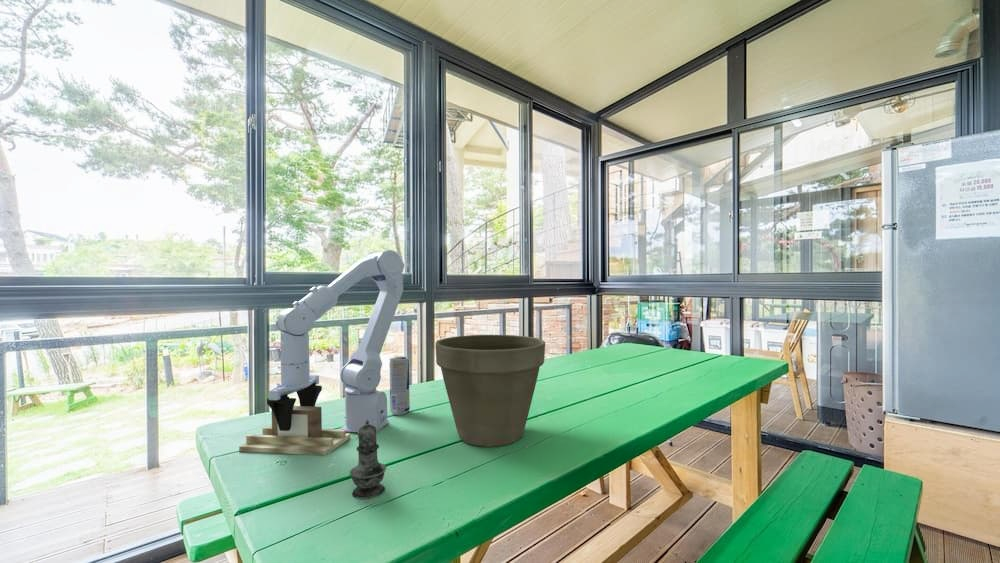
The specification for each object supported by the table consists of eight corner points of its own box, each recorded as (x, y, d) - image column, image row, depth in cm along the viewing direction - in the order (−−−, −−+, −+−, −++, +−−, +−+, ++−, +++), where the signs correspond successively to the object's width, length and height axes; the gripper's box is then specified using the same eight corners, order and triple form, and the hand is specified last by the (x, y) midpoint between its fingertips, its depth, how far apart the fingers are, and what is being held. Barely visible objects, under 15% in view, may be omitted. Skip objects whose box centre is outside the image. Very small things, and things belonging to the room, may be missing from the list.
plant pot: (569, 433, 97) (567, 338, 97) (494, 469, 79) (492, 352, 79) (490, 412, 114) (489, 331, 114) (414, 437, 96) (412, 342, 96)
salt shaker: (355, 484, 74) (353, 415, 74) (389, 482, 75) (388, 413, 75) (345, 501, 68) (344, 426, 68) (383, 498, 69) (381, 424, 69)
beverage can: (412, 410, 117) (411, 356, 117) (406, 416, 112) (405, 359, 112) (394, 410, 118) (393, 356, 118) (387, 415, 113) (386, 359, 113)
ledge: (350, 437, 97) (350, 426, 97) (325, 455, 87) (325, 443, 87) (271, 434, 100) (271, 423, 100) (239, 451, 90) (239, 439, 90)
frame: (321, 438, 94) (321, 406, 94) (313, 443, 91) (313, 410, 91) (281, 436, 96) (280, 405, 96) (272, 441, 93) (271, 409, 93)
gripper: (299, 356, 101) (300, 413, 101) (255, 369, 87) (256, 435, 87) (326, 357, 100) (327, 414, 100) (286, 369, 86) (287, 436, 86)
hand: (296, 424), depth 93 cm, fingers open, 7 cm apart
